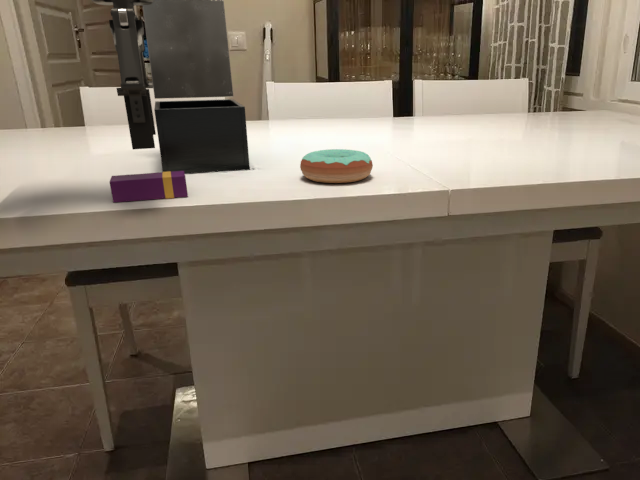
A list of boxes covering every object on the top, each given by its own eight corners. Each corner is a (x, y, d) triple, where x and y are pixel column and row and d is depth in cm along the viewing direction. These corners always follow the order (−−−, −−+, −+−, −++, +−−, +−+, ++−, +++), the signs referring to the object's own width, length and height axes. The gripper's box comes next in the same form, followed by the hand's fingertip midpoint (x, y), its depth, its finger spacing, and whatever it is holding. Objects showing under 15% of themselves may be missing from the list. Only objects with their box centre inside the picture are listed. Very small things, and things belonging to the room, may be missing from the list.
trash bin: (249, 169, 99) (244, 106, 95) (163, 175, 95) (154, 109, 91) (238, 154, 114) (233, 99, 110) (162, 158, 109) (155, 101, 105)
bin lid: (223, -1, 105) (221, 7, 111) (141, -3, 101) (142, 5, 106) (233, 96, 109) (230, 99, 114) (154, 98, 105) (155, 101, 110)
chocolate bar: (113, 203, 77) (109, 181, 76) (115, 196, 81) (111, 175, 80) (187, 197, 80) (185, 175, 79) (186, 190, 84) (184, 170, 83)
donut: (387, 179, 91) (387, 155, 89) (323, 189, 85) (323, 162, 83) (347, 167, 100) (347, 145, 99) (288, 175, 94) (286, 151, 92)
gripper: (147, -45, 60) (175, 153, 68) (151, -19, 82) (171, 128, 90) (71, -48, 58) (108, 157, 66) (95, -20, 80) (121, 131, 88)
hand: (145, 141), depth 78 cm, fingers open, 13 cm apart
